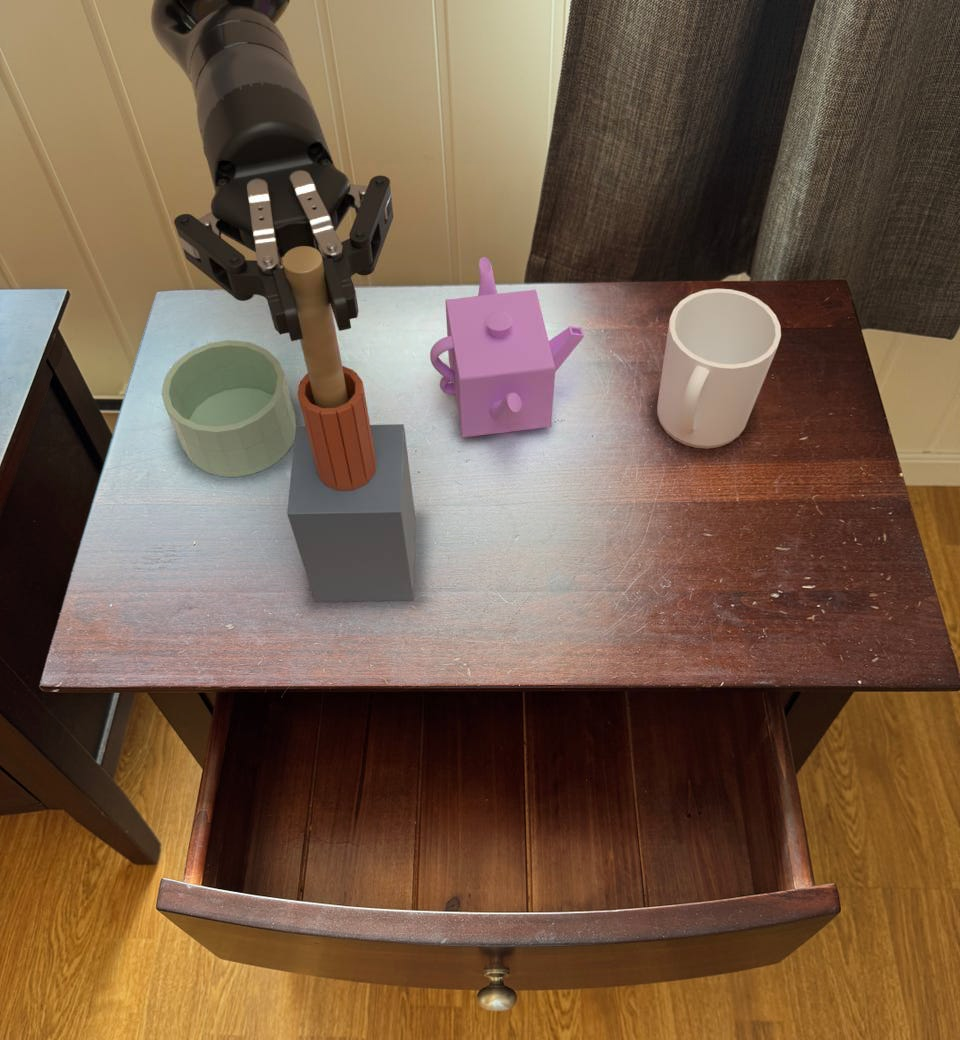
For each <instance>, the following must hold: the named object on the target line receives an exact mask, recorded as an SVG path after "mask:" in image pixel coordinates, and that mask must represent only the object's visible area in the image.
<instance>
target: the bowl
mask: <svg viewBox="0 0 960 1040" xmlns="http://www.w3.org/2000/svg"><path fill="white" fill-rule="evenodd" d="M161 389H162V391H161V397H162V401H163V404H164V408H165V410H166V413H167V415H168V417H169V420H170V422H171V425H172V426H173V428H174V431H175V433H176V436H177V438H178V440H179V443H180V445H181V448H182V449H183V451H184V452H185V455H186V456H187V458H188V459H189V460H190V462H191V463H193V464H194V465H195V467H197V468H199V469H200V470H202V471H204V472H205V473H208V474H211V475H215V476H218V477H226V478H238V477H239V478H240V477H246V476H251V475H254V474H257V473H260V472H262V471H265V470H267V469H268V468H270V467H272V466H273V465H275V464H276V463H277V462H279V461H280V460H281V459H282V458H283V457H284V456H286V454H287V453H288V451H289V450H290V449H291V447H292V445H293V444H294V441H295V431H296V427H297V420H296V414H295V410H294V406H293V402H292V399H291V394H290V391H289V387H288V384H287V379H286V376H285V373H284V371H283V368H282V365H281V363H280V361H279V360H278V359H277V358H276V356H275V355H273V354H272V353H271V352H270V351H269V350H268V349H267V348H264V347H262V346H260V345H257V344H255V343H253V342H249V341H240V340H230V339H228V340H227V339H226V340H221V341H215V342H209V343H206V344H204V345H202V346H199V347H197V348H195V349H192V350H190V351H188V352H187V353H186V354H184V355H183V356H182V357H181V358H179V359H178V360H177V361H175V362H174V364H172V366H171V368H170V369H169V371H168V372H167V373H166V375H165V376H164V379H163V384H162V388H161Z"/></svg>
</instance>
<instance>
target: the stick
mask: <svg viewBox="0 0 960 1040" xmlns="http://www.w3.org/2000/svg"><path fill="white" fill-rule="evenodd" d="M282 260H283V268H284V271H285V276H286V278H287V280H288V282H289V286H290V289H291V292H292V296H293V299H294V303H295V306H296V310H297V314H298V318H299V322H300V326H301V331H302V335H303V339H300V340H299V341H300V346H301V350H302V353H303V358H304V362H305V367H306V372H307V373H308V376H309V381H310V385H311V389H312V394H313V398H314V402H315V405H316V406H318V407H321V408H336V407H339V406H341V405H343V404H345V403H348V401H349V400H348V395H347V390H346V384H345V379H344V373H343V368H342V366H343V363H342V357H341V353H340V346H339V341H338V336H337V331H336V325H335V320H334V319H335V318H334V314H333V311H332V307H331V304H330V300H329V295H328V289H327V284H326V278H325V273H324V265H323V259H322V255H321V254H320V252H319V251H318V250H317V249H315V248H313V247H309V246H300V247H295V248H293V249H291V250H289V251H288V252H287V253H286V254H285V255H284V257H282Z"/></svg>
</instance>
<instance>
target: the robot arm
mask: <svg viewBox="0 0 960 1040" xmlns="http://www.w3.org/2000/svg"><path fill="white" fill-rule="evenodd" d="M290 3H291V0H153V2H152V6H151V12H150V24H151V25H150V26H151V29H152V33H153V35H154V37H155V39H156V41H157V42H158V44H159V45H160V46H161V48H162V49H163V50H164V52H165V53H166V54H167V55H168V56H169V57H170V58H171V59H172V60H173V61H174V62H175V63H176V64H177V65H178V66H179V67H180V69H181V70H182V71H183V72H184V74H185V76H186V77H187V78H188V80H189V82H190V84H191V88H192V92H193V96H194V100H195V104H196V116H197V117H196V118H197V125H198V130H199V134H200V139H201V141H202V146H203V147H202V149H203V154H204V156H205V158H206V161H207V165H208V169H209V173H210V176H211V180H212V184H213V188H214V191H215V192H214V194H213V197H212V199H211V202H210V210H211V212H208V213H207V214H205V215H204V216H202V217H200V218H197V217H196V216H194V215H193V214H189V213H182V214H180V215H178V216H176V217H175V218H174V220H173V224H174V226H175V227H174V228H175V229H176V232H177V235H178V238H179V241H180V244H181V248H182V250H183V251H182V252H183V254H184V257H185V259H186V260H187V261H188V262H189V263H191V265H193V266H194V267H196V268H197V270H199V271H200V272H202V273H203V274H204V275H206V276H207V277H208V278H209V279H210V280H211V281H213V282H214V283H215V284H216V285H218V286H219V287H220V288H221V289H222V290H224V291H225V292H227V293H228V294H229V295H230V296H232V297H233V298H234V299H235V300H237V301H240V302H246V301H249V300H251V299H252V298H254V296H255V295H256V296H257V295H258V296H260V297H263V298H264V299H266V302H267V306H268V308H269V313H270V316H271V319H272V323H273V324H272V325H273V327H274V330H275V331H276V332H277V333H278V334H279V335H285V334H288V335H289V339H290V342H295V341H300V339H303V335H302V331H301V326H300V322H299V318H298V314H297V310H296V306H295V303H294V299H293V296H292V292H291V289H290V286H289V282H288V280H287V278H286V276H285V271H284V267H283V257H284V255H285V254H286V253H287V252H288V251H289V250H291V249H293V248H295V247H300V246H309V247H313V248H315V249H317V250H318V251H319V252H320V254H321V255H322V259H323V265H324V273H325V278H326V284H327V289H328V295H329V300H330V304H331V308H332V314H333V318H334V319H335V320H334V321H335V323H336V326H337V328H338V331H339V332H341V331H346V330H350V329H352V323H351V320H353V319H357V318H358V316H359V305H358V297H357V291H356V289H355V285H354V283H353V280H352V277H353V276H354V275H356V274H357V275H359V276H369V275H371V274H372V273H374V271H375V269H376V266H377V265H378V264H377V263H378V262H379V258H380V256H381V253H382V250H383V247H384V244H385V241H386V240H387V236H388V233H389V231H390V228H391V225H392V221H393V219H394V210H393V209H394V208H393V207H394V206H393V198H392V188H391V187H392V186H391V180H390V178H389V177H388V176H386V175H383V174H382V175H381V174H380V175H375V176H372V178H370V180H369V182H368V185H362V184H354V183H350V180H349V177H348V176H347V175H346V174H345V173H344V172H342V171H341V170H340V169H338V168H337V166H336V165H335V163H334V159H333V157H332V154H331V152H330V149H329V145H328V143H327V141H326V138H325V135H324V133H323V129H322V127H321V124H320V121H319V118H318V116H317V113H316V110H315V108H314V105H313V102H312V99H311V96H310V94H309V92H308V90H307V88H306V86H305V85H304V82H302V80H301V79H300V77H299V74H298V71H297V67H296V65H295V63H294V60H293V56H292V54H291V52H290V49H289V46H288V43H287V41H286V40H285V39H286V38H285V37H284V36H283V34H282V32H281V30H280V29H279V28H278V26H277V25H276V24H277V23H278V21H279V20H280V19H281V17H282V16H283V15H284V13H285V12H286V10H287V8H288V7H289V4H290ZM351 208H352V209H354V211H355V219H354V221H353V223H352V226H351V228H350V230H349V235H348V236H349V238H347V239H345V240H343V241H341V240H340V238H339V236H338V234H337V232H336V231H337V230H338V228H339V227H340V225H341V224H342V222H343V220H344V219H345V217H346V216H347V214H348V213H349V211H350V209H351ZM221 235H224V236H226V237H227V238H229V239H231V240H233V241H234V242H236V243H238V244H240V245H241V246H243V247H245V248H247V249H249V250H251V251H252V252H254V253H255V255H256V260H251V259H247V258H246V256H245V255H244V254H242V253H241V252H240V251H239V250H237V249H236V248H235V247H234V246H233V245H231V244H230V243H229V242H227V241H226V240H225V239H223V238H222V236H221Z"/></svg>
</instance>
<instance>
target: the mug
mask: <svg viewBox="0 0 960 1040" xmlns="http://www.w3.org/2000/svg"><path fill="white" fill-rule="evenodd" d="M781 329H782V328H781V324H780V322H779V319H778V316H777V315H776V313H774V311H773V310H772V309H771V308H770V306H769V305H768V304H766V303H765V302H763V301H762V300H761V299H759V298H758V297H755V296H753V295H751V294H749V293H747V292H744V291H740V290H735V289H729V288H727V289H726V288H711V289H703V290H700V291H697V292H695V293H691V294H689V295H688V296H686V297H685V298H683V299H682V300H680V301H679V302H678V304H677V305H676V306H675V307H674V308H673V310H672V312H671V315H670V318H669V321H668V327H667V334H666V342H665V349H664V356H663V363H662V368H661V369H662V370H661V376H660V384H659V391H658V398H657V403H656V404H657V405H656V415H657V416H656V417H657V419H658V422H659V424H660V426H661V428H663V430H664V432H665V433H666V434H667V435H668V436H669V437H671V438H672V439H673V440H674V441H676V442H678V443H680V444H682V445H684V446H688V447H692V448H695V449H705V450H707V449H714V448H721V447H723V446H725V445H728V444H730V443H732V442H733V441H735V440H736V439H737V438H739V437H740V435H741V434H742V433H743V431H744V430H745V428H746V426H747V423H748V421H749V418H750V416H751V414H752V411H753V408H754V407H755V403H756V401H757V399H758V396H759V394H760V392H761V389H762V387H763V384H764V382H765V379H766V377H767V375H768V372H769V369H770V367H771V364H772V362H773V360H774V358H775V355H776V352H777V350H778V347H779V344H780V341H781V337H782V330H781Z"/></svg>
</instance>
